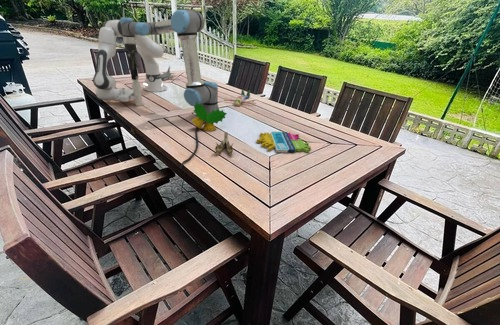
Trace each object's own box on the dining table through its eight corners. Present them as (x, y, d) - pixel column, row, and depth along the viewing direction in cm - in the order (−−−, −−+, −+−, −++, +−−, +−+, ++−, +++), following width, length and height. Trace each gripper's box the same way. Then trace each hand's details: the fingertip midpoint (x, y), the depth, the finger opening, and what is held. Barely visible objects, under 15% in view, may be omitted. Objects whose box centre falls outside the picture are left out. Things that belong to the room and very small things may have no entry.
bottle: (134, 105, 194) (129, 77, 185) (136, 103, 199) (131, 75, 189) (141, 105, 195) (137, 77, 185) (143, 103, 200) (139, 76, 190)
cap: (137, 78, 191) (137, 74, 190) (139, 79, 188) (138, 76, 187) (131, 78, 188) (130, 75, 187) (132, 79, 185) (132, 76, 184)
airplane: (145, 76, 282) (144, 66, 276) (174, 74, 295) (174, 65, 290) (151, 85, 253) (150, 74, 248) (183, 83, 266) (183, 72, 261)
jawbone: (234, 135, 144) (233, 125, 135) (233, 160, 138) (232, 151, 129) (217, 135, 144) (216, 125, 135) (216, 160, 138) (214, 150, 129)
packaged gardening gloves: (313, 150, 142) (258, 149, 139) (312, 153, 143) (258, 152, 140) (301, 132, 164) (254, 130, 161) (301, 134, 165) (254, 133, 162)
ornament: (218, 133, 171) (224, 110, 169) (221, 134, 163) (227, 111, 161) (186, 125, 162) (192, 101, 160) (189, 126, 155) (195, 101, 153)
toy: (261, 91, 228) (254, 99, 202) (261, 99, 231) (253, 108, 205) (231, 87, 233) (220, 95, 207) (230, 95, 236) (219, 104, 210)
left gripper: (113, 94, 183) (133, 95, 184) (124, 87, 200) (142, 88, 201) (114, 103, 186) (134, 104, 187) (125, 95, 203) (143, 96, 204)
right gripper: (132, 45, 169) (137, 81, 180) (139, 42, 186) (143, 75, 197) (120, 44, 168) (126, 81, 179) (127, 41, 184) (132, 75, 196)
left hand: (138, 96), depth 194 cm, fingers closed on bottle, 5 cm apart
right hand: (135, 78), depth 188 cm, fingers open, 7 cm apart
